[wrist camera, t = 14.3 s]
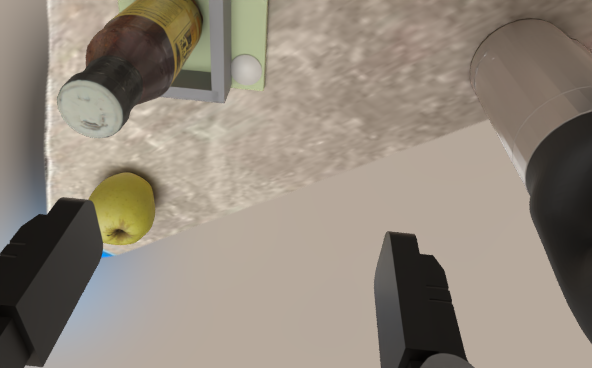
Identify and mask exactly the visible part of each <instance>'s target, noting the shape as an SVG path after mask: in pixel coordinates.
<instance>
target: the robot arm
mask: <svg viewBox="0 0 592 368" xmlns="http://www.w3.org/2000/svg"><path fill="white" fill-rule="evenodd" d="M470 80H471V84H472V87H473V89H474V91H475V93H476V95H477V97H478V99H479V101H480V103H481V105H482V107H483V109H484V111H485V112H486V114H487V116H488V118H489V120H490V122H491V124H492V126H493V127H494V129H495V131H496V133H497V135H498V136H499V139H500V140H501V142H502V144H503V146H504V148H505V150H506V152H507V154H508V156H509V157H510V159H511V161H512V163H513V165H514V167H515V169H516V171H517V172H518V174H519V176H520V178H521V180H522V182H523V183H524V185H525V187H526V189H527V191H528V193H529V194H530V204H529V205H530V214H531V217H532V220H533V223H534V225H535V227H536V230H537V232H538V234H539V237H540V239H541V242H542V244H543V246H544V249H545V251H546V254H547V256H548V259H549V261H550V264H551V266H552V269H553V271H554V273H555V276H556V278H557V281H558V283H559V286H560V287H561V290H562V292H563V295H564V297H565V299H566V301H567V303H568V306H569V307H570V309H571V311H572V313H573V315H574V316H575V318H576V320H577V322H578V324H579V326H580V327H581V329H582V330H583V332H584V333H585V335H586V336H587V338H588V339H589V341H590V342H591V343H592V53H591V52H590V51H589V50H588V49H586V48H585V47H584V46H583V45H582V44H581V43H580V42H578V41H577V40H574V39H570V38H569V37H568V36H567V35H565V34H564V33H563V32H562V31H561V30H560V29H559V28H557V27H556V26H554V25H553V24H551V23H549V22H546V21H543V20H537V19H526V20H519V21H516V22H512V23H509V24H507V25H505V26H503V27H501V28H499V29H498V30H496V31H495V32H494V33H492V34H491V35H490V36H489V37H488V38H487V39H486V40H485V41H484V42H483V43H482V44H481V46H480V47H479V48H478V50H477V51H476V53H475V56H474V58H473V60H472V64H471V68H470ZM102 251H103V239H102V235H101V231H100V227H99V223H98V218H97V214H96V210H95V206H94V203H93V202H92V201H91V200H85V199H75V198H65V197H62V198H60V199H59V200H58V201H57V202H56V203H55V205H54V206H53V207H52V209H51V210H50V211H49V213H48V214H47V215H43V214H39V215H37V216H36V217H34V218H33V219H31V220H30V221H28V222H27V223H25V224H24V225H23V226H21V228H20V229H19V230H18V231H17V233H16V234H15V235H14V236H13V238H12V239H11V240H10V244H7V246H6V247H5V248H4V249H3V250H2V252H1V253H0V368H24V367H25V365H29V366H38V367H43V366H44V364H45V362H46V360H47V358H48V357H49V355H50V353H51V351H52V349H53V347H54V345H55V344H56V342H57V340H58V338H59V336H60V334H61V332H62V331H63V329H64V327H65V325H66V323H67V321H68V319H69V318H70V316H71V314H72V312H73V310H74V308H75V306H76V305H77V303H78V300H79V299H80V297H81V295H82V293H83V292H84V290H85V288H86V286H87V284H88V282H89V280H90V279H91V277H92V275H93V273H94V271H95V269H96V267H97V266H98V264H99V262H100V259H101V256H102ZM374 294H375V305H376V316H377V327H378V338H379V351H380V362H381V368H474V367H473V366H472V365H471V364H470V363H469V362H468V360H467V358H466V355H465V351H464V347H463V343H462V339H461V335H460V331H459V327H458V323H457V319H456V315H455V311H454V307H453V305H452V299H451V295H450V291H448V283H447V279H446V275H445V271H444V269H443V268H442V267H441V265H440V264H439V263H438V261H437V260H436V259H435V257H434V256H433V255H425V254H420V253H419V248H418V243H417V238H416V236H415V234H409V233H399V232H389V231H388V232H386V234H385V238H384V241H383V245H382V249H381V253H380V256H379V260H378V264H377V268H376V272H375V280H374Z"/></svg>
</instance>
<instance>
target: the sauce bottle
mask: <svg viewBox="0 0 592 368" xmlns="http://www.w3.org/2000/svg"><path fill="white" fill-rule="evenodd" d="M202 24H203V16H202V14H201V11H200V9H199V7H198V5H197V4H196V2H195V1H194V0H136V1H134V2H133V3H132V4H130V5H129V6H128V7H127V8H125V9H124V10H123V11H122V12H120V13H119V14H118V15H117V16H115V17H114V18H113V19H112V20H110V21H109V22H108V23H107V24H106V25H105V27H104V28H103V29H102V30H101V31H99V32H98V33H97V34H96V35H95V36H94V37H93V39H92V40H91V42H90V44H89V45H88V47H87V52H86V69H85V70H84V71H83V72H81V73H78V74H76V75H74V76H73V77H71V78H70V79H69V80H68V81H67V82H66V83H65V84H64V85H63V86H62V88H61V90H60V92H59V94H58V97H57V105H58V109H59V111H60V113H61V116H62V118H63V119H64V121H65V122H66V123H67V124H68V125H69V126H70V127H71V128H72V129H74V130H75V131H76V132H78V133H80V134H82V135H84V136H88V137H90V138H105V137H109V136H112V135H114V134H115V133H117V132H118V131H119V130H120V129H121V128H122V126H123V125H124V124H125V123H126V122H127V120H128V118H129V115H130V111H131V109H132V108H133V107H134V106H135V105H137V104H141V103H144V102H147V101H149V100H153V99H156V98H158V97H160V96H162V95H163V94H164V93H165V92H166V91H167V90H168V89H169V87H170V86H171V84H172V83H173V81H174V80H175V78H176V76H177V75H178V73H179V72H180V70H181V69H182V67H183V65H184V64H185V62H186V61H187V59H188V57H189V56H190V54H191V53H192V51H193V50H194V48H195V46H196V45H197V43H198V42H199V40H200V37H201V34H202Z"/></svg>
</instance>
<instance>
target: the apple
mask: <svg viewBox="0 0 592 368" xmlns="http://www.w3.org/2000/svg"><path fill="white" fill-rule="evenodd" d="M89 200H91V201H92V202H93V203H94V206H95V210H96V214H97V218H98V223H99V227H100V231H101V235H102V239H103V243H107V244H113V245H127V244H133V243H135V242H137V241H138V240H140V239H141V238H142V237H143V236H144V235H145V234H146V233H147V232H148V231H149V230H150V228H151V227H152V224H153V221H154V217H155V204H154V196H153V191H152V188H151V186H150V184H149V183H148V182H147V181H145V180H144V179H143V178H141V177H139V176H138V175H135V174H133V173H126V172H125V173H119V174H116V175H113V176H111V177H109V178H107V179H106V180H104V181H103V182H102V183H101V184H99V185H98V186H97V187H96V189H95V190H94V191H93V193H92V194H91V196H90V198H89Z"/></svg>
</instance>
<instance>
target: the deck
mask: <svg viewBox="0 0 592 368" xmlns="http://www.w3.org/2000/svg"><path fill="white" fill-rule="evenodd" d="M134 1H136V0H118V6H119V13H120V12H122V11H123V10H124V9H125V8H127V7H128V6H129V5H130V4H132V3H133V2H134ZM194 1H195V2H196V4H197V5H198V7H199V9H200V11H201V14H202V16H203V24H202V34H201V37H200V40H199V42H198V43H197V45H196V46H195V48H194V50H193V51H192V53H191V54H190V56H189V57H188V59H187V61H186V62H185V64H184V65H183V67H182V69H181V70H180V72H179V73H178V75H177V76H176V78H175V80H174V81H173V83H172V84H171V86H170V87H169V89H168V90H167V91H166V92H165V93H164V94H163V95H162V96H160V97H166V98H176V99H186V100H196V101H206V102H216V103H225V101H226V98H227V96H228V93H229V91H230V88H237V89H247V90H257V91H264V87H265V67H266V43H267V19H268V0H194Z"/></svg>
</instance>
